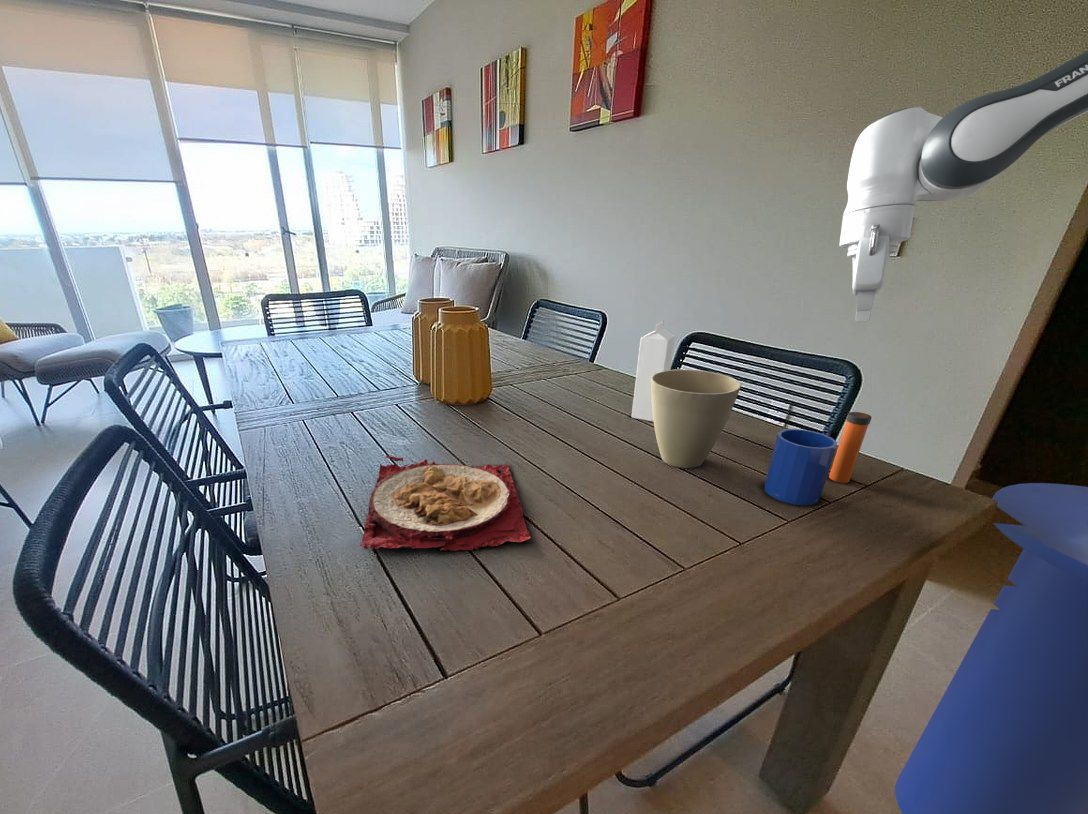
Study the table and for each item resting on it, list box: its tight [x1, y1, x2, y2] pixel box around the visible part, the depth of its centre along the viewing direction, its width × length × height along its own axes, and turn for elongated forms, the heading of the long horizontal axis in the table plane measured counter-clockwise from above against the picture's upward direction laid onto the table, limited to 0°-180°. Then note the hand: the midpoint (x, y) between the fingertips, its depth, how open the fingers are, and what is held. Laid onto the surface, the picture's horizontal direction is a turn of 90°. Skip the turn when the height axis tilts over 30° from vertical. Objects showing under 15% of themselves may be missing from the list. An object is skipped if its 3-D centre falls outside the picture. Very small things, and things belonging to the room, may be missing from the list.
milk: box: [631, 320, 676, 423], centre depth 109 cm, size 6×6×22 cm
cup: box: [763, 428, 838, 506], centre depth 78 cm, size 8×8×10 cm
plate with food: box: [359, 455, 532, 552], centre depth 77 cm, size 24×26×4 cm
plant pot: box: [651, 368, 742, 469], centre depth 89 cm, size 15×15×16 cm
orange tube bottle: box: [828, 411, 873, 484], centre depth 82 cm, size 3×3×12 cm
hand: (861, 322), depth 79 cm, fingers open, 8 cm apart
